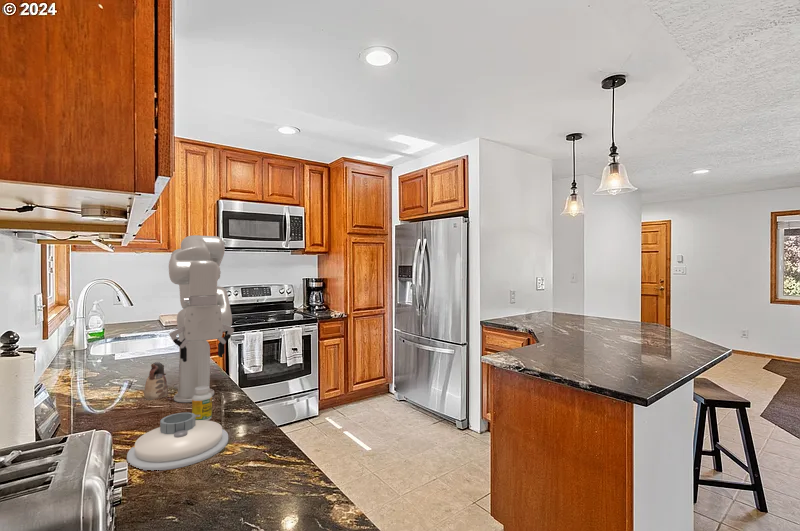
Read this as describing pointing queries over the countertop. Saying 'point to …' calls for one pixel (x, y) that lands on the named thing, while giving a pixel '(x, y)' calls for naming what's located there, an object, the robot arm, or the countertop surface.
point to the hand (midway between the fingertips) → (202, 358)
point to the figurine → (156, 382)
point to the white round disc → (178, 438)
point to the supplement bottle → (202, 403)
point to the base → (176, 463)
